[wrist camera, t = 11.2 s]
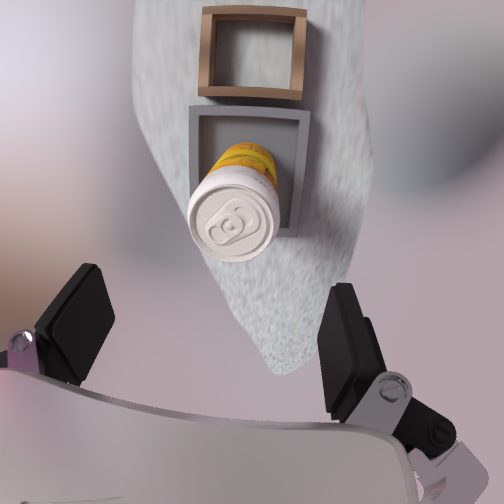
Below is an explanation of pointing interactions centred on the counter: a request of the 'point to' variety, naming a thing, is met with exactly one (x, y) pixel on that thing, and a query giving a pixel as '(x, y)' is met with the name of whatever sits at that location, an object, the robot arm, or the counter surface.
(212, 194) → the beer can
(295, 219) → the tray
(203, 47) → the collar
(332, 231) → the counter surface
